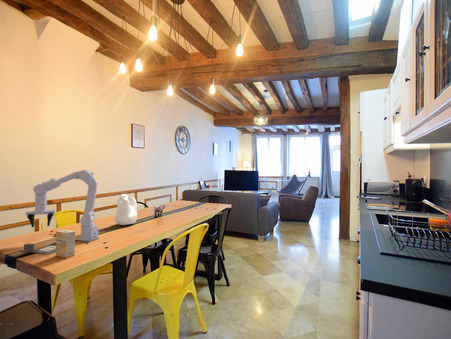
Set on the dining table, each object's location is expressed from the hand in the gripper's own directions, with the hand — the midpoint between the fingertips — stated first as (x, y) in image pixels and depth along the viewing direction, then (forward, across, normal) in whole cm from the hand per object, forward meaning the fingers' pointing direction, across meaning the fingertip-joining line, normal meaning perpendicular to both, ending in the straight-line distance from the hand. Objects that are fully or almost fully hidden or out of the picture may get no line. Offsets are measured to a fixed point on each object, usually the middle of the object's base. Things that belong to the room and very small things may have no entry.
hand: (40, 226), depth 146 cm
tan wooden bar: (+9, -4, +14) cm, 17 cm away
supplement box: (+10, -18, +31) cm, 37 cm away
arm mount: (+10, -9, +8) cm, 15 cm away
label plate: (+10, -6, +16) cm, 19 cm away
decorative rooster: (+10, -52, -32) cm, 61 cm away
